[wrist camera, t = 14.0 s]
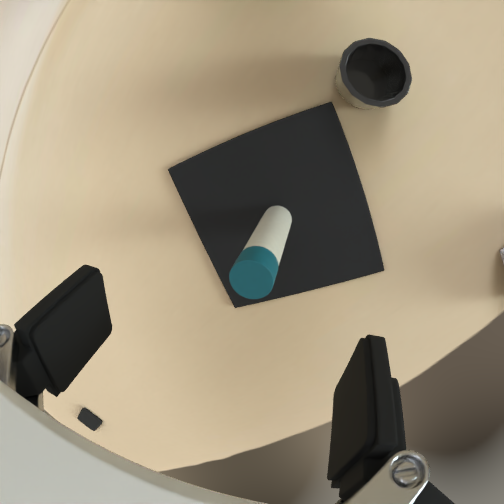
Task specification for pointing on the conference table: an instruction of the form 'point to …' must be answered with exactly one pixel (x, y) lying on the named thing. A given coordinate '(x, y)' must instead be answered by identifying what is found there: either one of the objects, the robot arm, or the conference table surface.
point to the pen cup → (373, 74)
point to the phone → (89, 419)
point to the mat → (284, 202)
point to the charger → (502, 254)
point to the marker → (261, 255)
